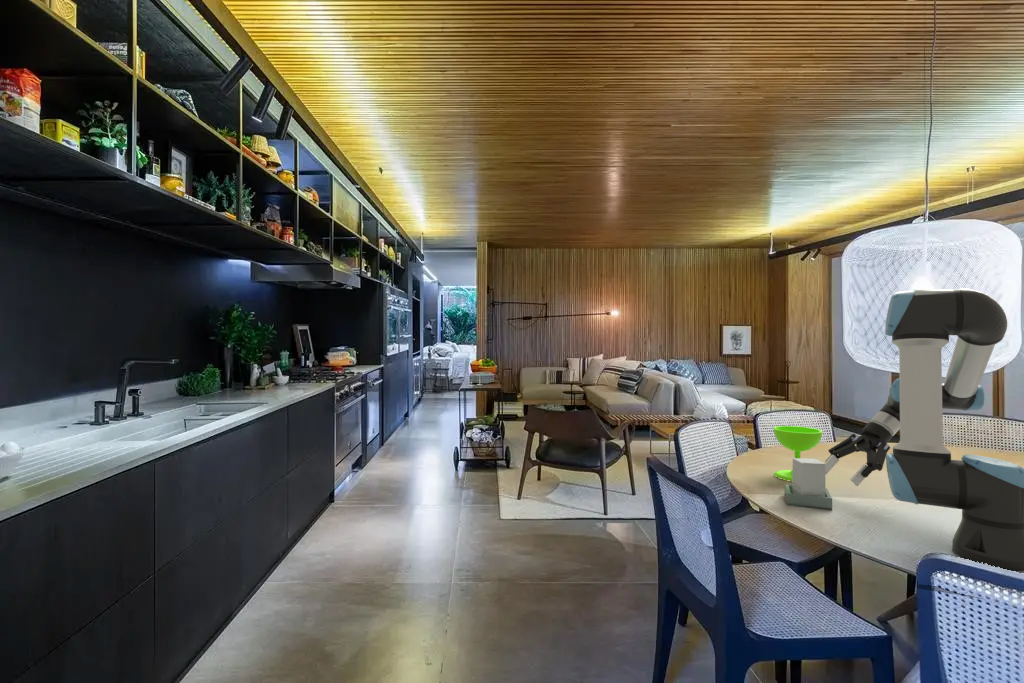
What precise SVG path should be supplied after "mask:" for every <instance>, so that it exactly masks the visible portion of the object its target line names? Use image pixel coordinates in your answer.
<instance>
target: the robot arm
mask: <svg viewBox="0 0 1024 683" xmlns="http://www.w3.org/2000/svg"><path fill="white" fill-rule="evenodd" d="M1007 318H1008V317H1007V315H1006V313H1005V310H1004V309H1003V307H1002V306H1001V305H1000V304H999V302H997V301H996V300H995V299H994V298H993V297H991V296H990V295H989V294H986V293H985V292H982V291H979V290H975V289H971V288H957V289H956V288H955V289H949V288H947V289H913V290H905V291H904V290H902V291H897V292H895V293H893V295H892V296H891V298H890V300H889V303H888V308H887V313H886V321H885V329H884V334H885V336H887V337H888V336H889V337H891V339H892V340H891V341H892V342H891V343H892V344H894V345H895V346H896V347H897V348H898V350H899V354H898V356H899V360H898V361H899V378H896V379H895V380H894V381H893V382H892V384H891V385H890V387H889V390H888V391H889V393H888V394H889V395H888V398H887V400H886V403H885V404H884V405H883V407H881V409H880V410H878V411H877V413H875V415H874V416H873V417H872V418H871V419H870V421H869V422H867V424H866V425H865V426H864V427H863V428H862V431H861V433H862V434H861V435H860V436H858V435H856V434H855V433H852V434H851V435H850V436H849V437H848V438H846V439H843V441H841V442H839V443H837V444H836V445H835V446H833V447H830V448H829V449H828V453H829V454H830V455H829V456H828V457H827V458H826V460H825V461H824V463H825V464H826V465H825V476H827V475H828V474H829V473H830V471H831V470H832V469H833V468H834V466H836V464H838V462H839V461H840V460H839V459H841V458H844V457H846V456H848V455H850V454H853V453H858V452H864V453H865V454H866V462H865V464H863V465H861V466H860V468H859V469H858V470H857V471H856V472H855V473H854V475H852V477H851V478H850V482H852V483H853V484H854V485H855V486H856V487H858V486H859V485H860V484H861V483H862V482H863V481H864V480H865V479H867V478H868V477H869V475H870V474H872V472H874V471H879V472H880V471H882V470H883V467H884V465H885V466H886V472H887V479H888V483H889V488H890V492H891V495H892V497H894V499H896V500H897V501H899V502H905V503H910V504H911V503H912V504H914V505H924V506H925V505H926V506H934V507H939V508H940V507H942V508H948V509H957V510H961V521H960V522H959V524H958V527H957V529H956V531H955V534H954V536H953V538H952V541H951V542H952V544H951V545H952V548H951V549H952V551H953V552H954V553H956V554H957V555H958V556H960V557H962V558H965V559H967V558H968V559H967V560H969V559H971V560H970V561H972V560H974V561H973V562H975V561H978V562H983V563H987V564H990V565H994V566H999V567H1002V568H1001V569H1004V568H1006V569H1005V570H1012V571H1024V467H1022V466H1021V465H1019V464H1016V463H1013V462H1011V461H1010V462H1009V461H1007V460H1003V459H999V458H994V457H990V456H983V455H979V454H967V453H966V454H963V455H962V457H960V458H961V460H960V459H959V460H958V459H952V453H951V452H952V451H951V450H949V449H948V448H947V447H946V446H945V445H944V441H943V440H944V439H943V438H944V436H943V435H944V433H943V432H944V431H943V430H944V425H943V409H944V410H945V409H947V410H958V411H959V410H961V411H979V410H981V409H983V407H984V405H985V403H984V402H985V390H984V388H983V387H982V385H980V384H981V381H982V379H983V376H984V373H985V370H986V368H987V365H988V364H989V362H990V360H991V359H990V358H991V357H992V353H993V351H994V349H995V346H996V344H998V343H1000V342H1002V341H1003V339H1004V337H1005V334H1006V332H1007V329H1008V319H1007ZM950 336H957V339H956V342H955V347H954V349H953V353H952V356H951V359H950V363H949V366H948V368H947V372H946V375H945V379H944V383H943V375H942V370H943V369H942V368H943V367H942V365H943V364H942V363H943V362H942V350H943V348H944V347H945V346H947V344H948V343H950ZM898 431H899V441H898V442H897V443H896V444H894V445H893V446H892V453H891V452H890V453H888V452H889V451H890V449H891V446H890V445H889V444H888V443H889V442H890V441H891V439H892V438H893V437H894V436H895V435H896V434H897V432H898ZM885 463H886V464H885ZM978 562H977V563H978ZM994 566H993V567H994Z"/></svg>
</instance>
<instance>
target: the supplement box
mask: <svg viewBox="0 0 1024 683" xmlns="http://www.w3.org/2000/svg"><path fill="white" fill-rule="evenodd" d="M825 465H826V464H825V462H822V461H820V460H818V459H817V458H801V457H800V458H795V457H793V458H792V470H793V482H792V485H793V492H792V493H793V494H802V495H811V496H820V497H825V488H826V475H825Z"/></svg>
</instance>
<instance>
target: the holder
mask: <svg viewBox="0 0 1024 683" xmlns="http://www.w3.org/2000/svg"><path fill="white" fill-rule="evenodd" d="M792 492H793V484H787V483H785V484H784V496H786V497H785V500H786V505H787V506H793V507H802V508H811V509H819V510H828V511H833V497H832V495H831V493H830V491H829V489H828V488H827V487H825V497H820V496H811V495H802V494H793V493H792Z"/></svg>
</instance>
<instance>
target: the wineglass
mask: <svg viewBox="0 0 1024 683" xmlns="http://www.w3.org/2000/svg"><path fill="white" fill-rule="evenodd" d="M773 432H774V436H775V438H776V440H777V441H778V442H779V443H780V445H782V446H783V447H784V448H786V449H788V450H791V451H793V452H794V458H801V452H805V451H806V452H807V451H810V450H811V449H813V448H815V447H816V446H817V445H818V444H819V443H820V441H821V440H822V436H823V430H821V429H818V428H814V427H807V426H797V425H796V426H795V425H778V426H774V427H773ZM773 475H775V476H777V477H779V478H782V479H785V480H790V481H793V469H780V470H777V471H775V472H774V473H773Z"/></svg>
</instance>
